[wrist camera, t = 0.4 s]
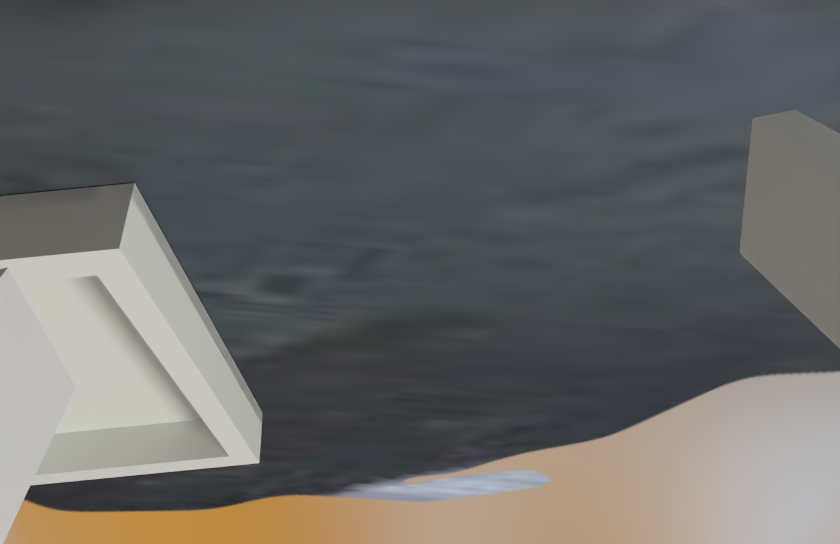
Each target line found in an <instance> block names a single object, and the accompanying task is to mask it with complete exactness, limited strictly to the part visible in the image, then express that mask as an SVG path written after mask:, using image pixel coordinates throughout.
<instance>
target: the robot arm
mask: <svg viewBox="0 0 840 544" xmlns="http://www.w3.org/2000/svg"><path fill="white" fill-rule="evenodd" d="M739 253H740V254H741V255H742V256H743V257H744V258H745V259H746V260H748V261H749V262H750V263H751V264H752V265H753V266H754V267H755V268H756V269H757V270H758V271H759V272H760V273H761V274H762V275H763V276H764V277H765V278H766V279H767V280H768V281H769V282H771V283H772V284H773V285H774V286H775V287H776V288H777V289H778V290H779V291H780V292H781V293H782V294H783V295H784V296H785V297H786V298H787V299H788V300H789V301H790V302H791V303H793V304H794V305H795V306H796V307H797V308H798V309H799V310H800V311H801V312H802V313H803V314H804V315H805V316H806V317H807V318H808V319H809V320H810V321H811V322H812V323H813V324H814V325H816V326H817V327H818V328H819V329H820V330H821V331H822V332H823V333H824V334H825V335H826V336H827V337H828V338H829V339H830V340H831V341H832V342H833V343H834V344H835V345H836V346H837V347H839V348H840V134H839V133H837V132H835V131H833V130H832V129H830V128H828V127H826V126H824V125H822V124H820V123H819V122H817V121H815V120H813V119H811V118H809V117H807V116H806V115H804V114H802V113H800V112H798V111H796V110H792V111H787V112H782V113H777V114H772V115H767V116H762V117H757V118H753V119H752V130H751V140H750V150H749V160H748V170H747V181H746V191H745V201H744V211H743V221H742V232H741V242H740V252H739ZM75 389H76V387H75V385H74V383H73V381H72V379H71V378H70V376H69V374H68V372H67V371H66V369H65V367H64V365H63V364H62V362H61V360H60V358H59V356H58V355H57V353H56V351H55V349H54V348H53V346H52V344H51V342H50V341H49V339H48V337H47V335H46V333H45V332H44V330H43V328H42V326H41V325H40V323H39V321H38V319H37V318H36V316H35V314H34V312H33V310H32V309H31V307H30V305H29V303H28V302H27V300H26V298H25V296H24V295H23V293H22V291H21V289H20V287H19V286H18V284H17V282H16V280H15V279H14V277H13V275H12V273H11V272H10V270H9V268H8V267H7V268H2V269H0V544H3V542H4V540H5V538H6V536H7V534H8V532H9V530H10V528H11V525H12V523H13V521H14V519H15V517H16V515H17V513H18V510H19V508H20V506H21V504H22V502H23V500H24V498H25V496H26V493H27V491H28V489H29V487H30V485H31V483H32V481H33V478H34V476H35V474H36V472H37V470H38V468H39V466H40V463H41V461H42V459H43V457H44V455H45V453H46V451H47V449H48V446H49V444H50V442H51V440H52V438H53V436H54V434H55V431H56V429H57V427H58V425H59V423H60V421H61V419H62V417H63V414H64V412H65V410H66V408H67V406H68V404H69V402H70V399H71V397H72V395H73V393H74V391H75Z"/></svg>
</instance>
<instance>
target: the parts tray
mask: <svg viewBox="0 0 840 544" xmlns="http://www.w3.org/2000/svg"><path fill="white" fill-rule="evenodd" d="M7 267H8V268H9V270H10V272H11V273H12V275H13V277H14V279H15V280H16V282H17V284H18V286H19V287H20V289H21V291H22V293H23V295H24V296H25V298H26V300H27V302H28V303H29V305H30V307H31V309H32V310H33V312H34V314H35V316H36V318H37V319H38V321H39V323H40V325H41V326H42V328H43V330H44V332H45V333H46V335H47V337H48V339H49V341H50V342H51V344H52V346H53V348H54V349H55V351H56V353H57V355H58V356H59V358H60V360H61V362H62V364H63V365H64V367H65V369H66V371H67V372H68V374H69V376H70V378H71V379H72V381H73V383H74V385H75V387H76V389H75V391H74V393H73V395H72V397H71V399H70V402H69V404H68V406H67V408H66V410H65V412H64V414H63V417H62V419H61V421H60V423H59V425H58V427H57V429H56V431H55V434H54V436H53V438H52V440H51V442H50V444H49V446H48V449H47V451H46V453H45V455H44V457H43V459H42V461H41V463H40V466H39V468H38V470H37V472H36V474H35V476H34V478H33V481H32V483H31V485H39V484H49V483H60V482H70V481H80V480H90V479H100V478H111V477H121V476H131V475H141V474H152V473H162V472H172V471H182V470H193V469H203V468H213V467H223V466H234V465H244V464H254V463H259V459H260V443H261V428H262V411H261V409H260V407H259V406H258V404H257V402H256V400H255V398H254V397H253V395H252V393H251V391H250V389H249V388H248V386H247V384H246V382H245V380H244V379H243V377H242V375H241V373H240V371H239V370H238V368H237V366H236V364H235V362H234V361H233V359H232V357H231V355H230V353H229V352H228V350H227V348H226V346H225V344H224V343H223V341H222V339H221V337H220V336H219V334H218V332H217V330H216V328H215V327H214V325H213V323H212V321H211V319H210V318H209V316H208V314H207V312H206V310H205V309H204V307H203V305H202V303H201V301H200V300H199V298H198V296H197V294H196V292H195V291H194V289H193V287H192V285H191V283H190V282H189V280H188V278H187V276H186V274H185V273H184V271H183V269H182V267H181V265H180V264H179V262H178V260H177V258H176V256H175V255H174V253H173V251H172V249H171V247H170V246H169V244H168V242H167V240H166V239H165V237H164V235H163V233H162V231H161V230H160V228H159V226H158V224H157V222H156V221H155V219H154V217H153V215H152V213H151V212H150V210H149V208H148V206H147V204H146V203H145V201H144V199H143V197H142V195H141V194H140V192H139V190H138V188H137V186H136V185H135V183H129V184H119V185H109V186H99V187H88V188H78V189H68V190H58V191H47V192H37V193H27V194H16V195H6V196H0V269H2V268H7Z"/></svg>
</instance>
